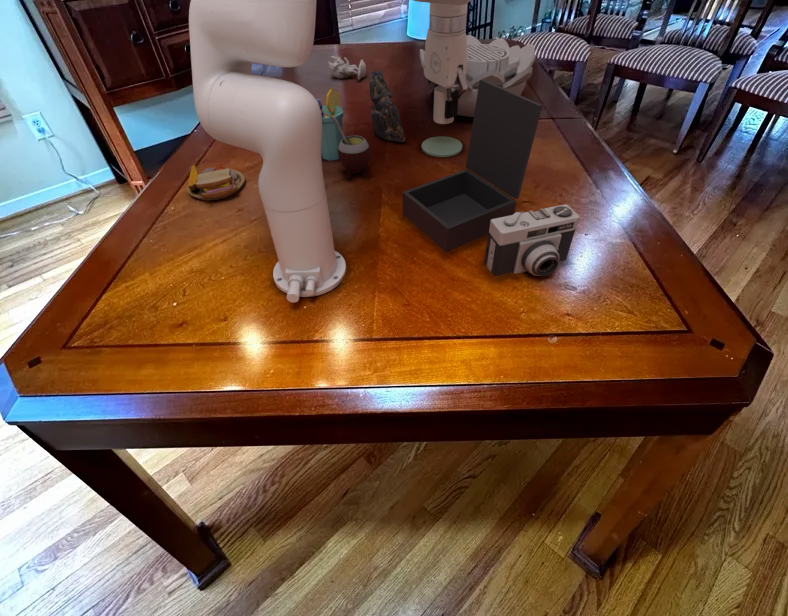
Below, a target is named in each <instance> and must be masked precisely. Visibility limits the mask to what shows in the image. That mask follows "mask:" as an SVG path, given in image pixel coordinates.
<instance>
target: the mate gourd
mask: <svg viewBox="0 0 788 616" xmlns="http://www.w3.org/2000/svg"><path fill="white" fill-rule="evenodd" d="M322 112H323V111H322ZM323 113H324V114H325V115H327V116H328V117H330V118H331V119H332V120H333V121H334V123H335V125H337V127H338V129H339V131H340V133H341V135H342V137H343V139H342V140H341V142H340V144H339V146H338V156H339V159H338V160H339V163H340V164H341V166H342V168H343V171H344V173H347V178H346V179H347V181H349V182H350V181H351V180H353V175H357V174H361V175H368V170H369V163H370V161H371V160H370V159H371V149H370V148H371V147H370V145H369V143H368V141H367V139H366V138H364V137H363V136H361V135H355V134H353V135H347V136H345V134H344V131H343V129H342V130H341V127H340V125H339V122H338V120H337V119H335V118H334V117H333V116H332V115H330V114H328V113H325V112H323Z"/></svg>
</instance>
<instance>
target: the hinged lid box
mask: <svg viewBox="0 0 788 616" xmlns="http://www.w3.org/2000/svg"><path fill="white" fill-rule="evenodd" d="M401 195H402V196H401V197H402V215H403V216H404V217H405V218H406V219H407V220H408V221H410V223H412V224H413V225H414V226H415V227H416V228H418V229H419V230H420V231H421V232H423V234H424V235H426V236H427V237H428V238H429V239H430V240H432V242H434V243H435V244H436V245H437V246H439V248H440V249H442V250H443V251H444V252H445V253H448V252H451V251H453V250H455V249H458V248H460V247H463V246H465V245H467V244H469V243H472V242H474V241H477V240H478V239H481V238H483V237H485V236H488V233H489V229H490V222H491V220H492V219H495V218H500V217H505V216H510V215H513V214H514V213H516V206H517V199H514V198H513V197H511V196H510V195H508V194H507V193H505V192H504V191H502V190H501V189H499V188H497V187H496V186H494V185H493V184H491V183H490V182H488V181H487V180H485V179H483V178H482V177H480V176H479V175H477V174H476V173H474V172H473V171H471V170H469V169H468V168H466V169H463V170H460V171H457V172H454V173H452V174H449V175H445V176H443V177H440V178H438V179H437V178H436V179H435V180H432V181H429V182H426V183H424V184H421V185H418V186H416V187H412V188H409V189H407V190H404V191H402V192H401Z"/></svg>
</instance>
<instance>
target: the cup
mask: <svg viewBox="0 0 788 616" xmlns="http://www.w3.org/2000/svg"><path fill="white" fill-rule="evenodd" d="M325 96H326V97H325V104H324V105H322V101H321V100H320V99H316V101H317V103H318V105H319V107H320V110H321V115H322V137H321V158H322V159H323V160H326V161H337V160H340V159H339V156H338V146H339V144H340V142H341V140H342V139H343V137H342V135H341V133H340V131H339V129H338V127H337V125H335V123H334V121H333V120H332V119H331V118H330V117H328V116H327V115H325V114H324V113H323V112H325V113H328V114H330V115H332V116H333V117H334V118H335V119H337V120H338V122H339V125H340V127H341V130H342V131H343V118H344V111H343V107H342V106H341V95H340V93H339V90H338V89H333V88H330V89H329V90H328V92H327V93H326V95H325ZM322 111H323V112H322Z"/></svg>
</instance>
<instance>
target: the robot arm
mask: <svg viewBox="0 0 788 616" xmlns="http://www.w3.org/2000/svg"><path fill="white" fill-rule="evenodd" d="M412 1H413V2H419V3H429V25H428V26H429V28H427V32H426V37H425V44H424V51H425V54H424V69H423V76H424V78H425V79H427V83H428V85H429V92H430V111H433V112H434V88H435V87H437V86H442V87H444V88H446V90H447V100H446V101H445V118H446V119H449V118H452V117H454V118H455V117H457V116H458V115H457V110H458V99H460V96H461V95H462V94H463V93H464V92H466V91H467V90H468V87H467V84H466V80H465V79H466V70H467V39H466V36H467V33H466V32H467V18H468V6H469V5H468V4H469V3H470V2H471V1H472V0H412ZM188 9H189V10H188V33H189V47H190V63H191V65H190V66H191V77H192V79H191V80H192V92H193V102H194V107H195V113H196V115H197V118H198V121H199V123H200V126H201V127H202V128H203V130H204V132H206V133H207V135H209V136H210V137H211V138H213V139H214V140H216V141H218V142H221V143H223V144H225V145H226V144H227V145H230V146H233V147H237V148H241V149H244V150H248V151H250V152H253V153H257V154H259V155H260V157H261V159H262V166H261V169H260V172H259V174H258V179H257V184H258V191H259V196H260V199H261V200H260V201H261V202H262V205H263V209H264V213H265V216H266V220H267V224H268V228H269V231H270V234H271V239H272V243H273V245H274V246H273V247H274V250H275V253H276V257H277V260H278V261H277V262H276V263H275V265H274V267H273V270H272V276H273V277H272V278H273V281H274V283H275V285H276V287H277V288H278V289H279V290H280V291H281V292H283V293H285V294H286V297H285V298H286V300H287V301H288V302H289V303H298V301H300V298H312V297H316V296H320V295H323V294H327V293H329V292H331V291H332V290H334V289H335V288H337V287H338V286H339V285H340V284H341V283H342V280H343V278H344V276H345V275H346V272H347V263H346V260H345V258H344V256H343V255H342V254H341V253H340V252H339V251H337V250H335V243H334V238H333V237H334V236H333V231H332V225H331V218H330V211H329V206H328V199H327V193H326V186H325V179H324V172H323V162H322V153H321V137H322V115H321V110H320V107H319V105H318V103H317V101H316V100H317V99H316V98H315V96H314V95H313V94H312V93H311V92H310V91H309V90H307V89H306V88H304V87H303V86H301V85H299V84H297V83H294V82H292V81H289V80H285V79H280V78H276V77H275V78H274V77H270V76H264V75H259V74H257V75H256V74H252V68H253V67H252V66H253V64H258V65H264V66H271V67H275V68H277V67H278V68H296V67H300V66H302V65H304V64H305V63H306V62H307V61H308V60H309V58H310V57H311V55H312V52H313V49H314V48H313V47H314V42H315V35H316V34H315V32H316V31H315V30H316V16H317V0H190V2H189V8H188ZM454 83H455V84H454ZM451 88H455V91H454V92H453V93H452V89H451Z"/></svg>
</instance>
